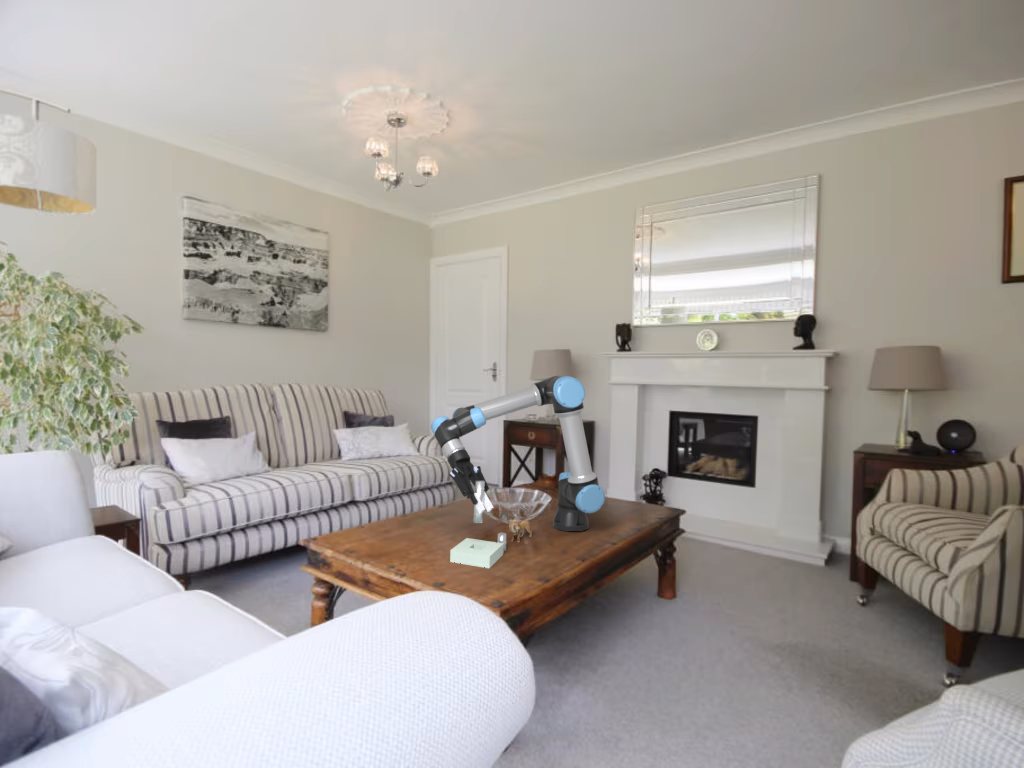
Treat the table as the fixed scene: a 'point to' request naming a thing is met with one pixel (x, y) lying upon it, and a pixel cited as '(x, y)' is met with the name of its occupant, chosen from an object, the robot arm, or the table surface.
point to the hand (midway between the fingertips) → (486, 510)
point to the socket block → (476, 552)
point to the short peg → (502, 539)
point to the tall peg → (480, 492)
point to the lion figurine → (519, 529)
